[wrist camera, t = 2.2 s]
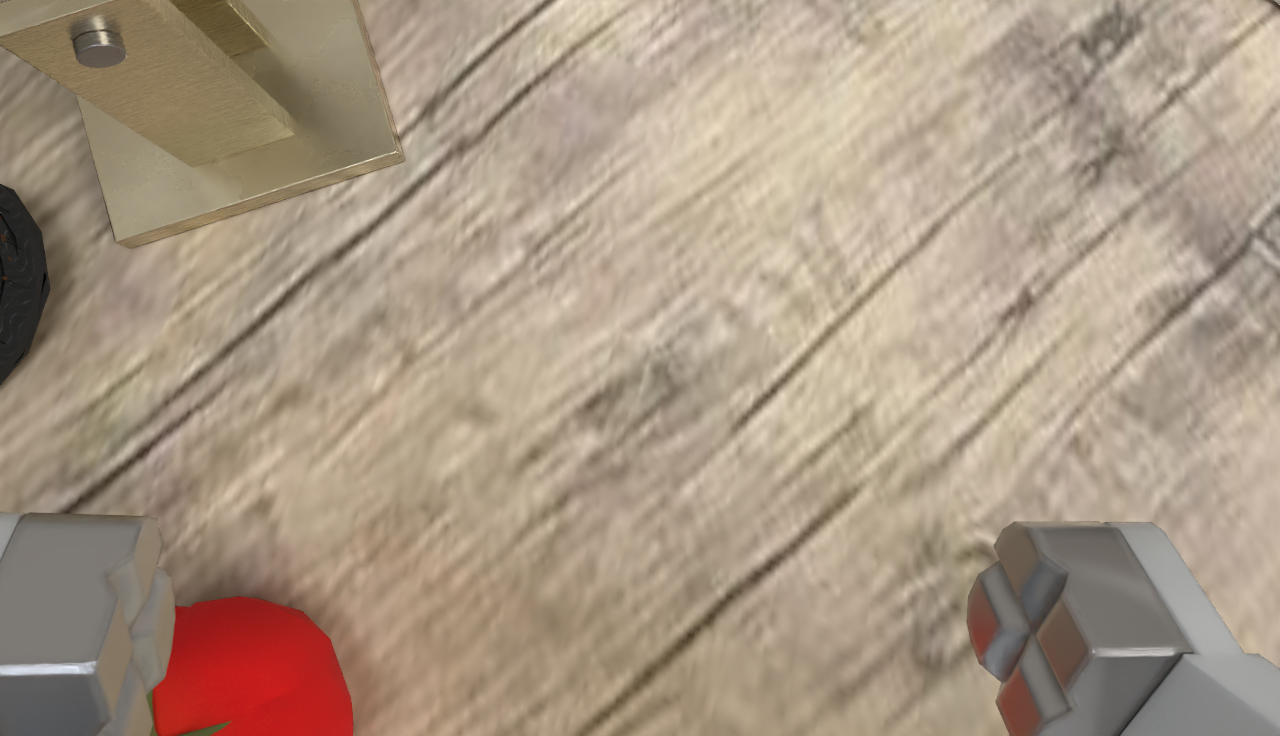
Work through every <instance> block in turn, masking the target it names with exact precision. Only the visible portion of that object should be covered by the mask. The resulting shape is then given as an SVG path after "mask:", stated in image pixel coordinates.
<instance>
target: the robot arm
mask: <svg viewBox="0 0 1280 736" xmlns="http://www.w3.org/2000/svg"><path fill="white" fill-rule="evenodd" d="M1274 1H1275V2H1276V3H1277V4H1279V5H1280V0H1274ZM162 547H163V539H162V535H161V532H160V528H159V524H158V521H157V518H154V517H150V516H123V515H91V514H59V513H2V512H0V736H150V733H151V729H152V725H153V721H152V717H151V713H150V709H149V705H148V701H147V697H146V695H147V694H148V693H149V692H150V691H151V690H152V689H153V688H155V687H156V686H157V685H158V684H159V683H160V682H161V681H162V680H163V679H164V678H165V675H166V671H167V667H168V663H169V659H170V655H171V650H172V643H173V634H174V624H175V599H174V590H173V585H172V580H171V576H170V575H169V574H168V573H166V572H165V571H164V570H162V569H161V568H160V567H158V566H157V564H158V561H159V557H160V554H161V550H162ZM994 549H995V551H996V553H997V555H998V557H999V561H998V562H996V563H995V564H993V565H992V566H990V567H989V568H987V569H986V570H984V571H983V572H981V573H980V574H978V576H977V578H976V580H975V582H974V585H973V587H972V589H971V591H970V593H969V595H968V606H967V626H968V631H969V636H970V641H971V644H972V647H973V649H974V652H975V654H976V657H977V659H978V662H979V664H980V665H982V666H983V667H984V668H985V669H986V670H987V671H989V672H990V673H991V674H992V675H993V676H995V677H996V678H997V679H998V680H999V681H1000V682H1001V685H1000V688H999V692H998V695H997V698H996V704H997V707H998V709H999V711H1000V714H1001V716H1002V718H1003V721H1004V723H1005V725H1006V728H1007V730H1008V732H1009V735H1010V736H1280V669H1279V668H1278V667H1276V666H1275V665H1274V664H1272V663H1271V662H1269V661H1268V660H1267V659H1265V658H1264V657H1262V656H1261V655H1260V654H1253V653H1244V652H1243V650H1242V649H1241V647H1240V646H1239V644H1238V642H1237V641H1236V639H1235V638H1234V636H1233V635H1232V633H1231V632H1230V630H1229V629H1228V627H1227V626H1226V624H1225V623H1224V621H1223V620H1222V618H1221V617H1220V615H1219V614H1218V612H1217V610H1216V609H1215V607H1214V606H1213V604H1212V603H1211V601H1210V600H1209V598H1208V597H1207V595H1206V594H1205V592H1204V591H1203V589H1202V588H1201V586H1200V585H1199V583H1198V581H1197V580H1196V578H1195V577H1194V575H1193V574H1192V572H1191V571H1190V569H1189V568H1188V566H1187V565H1186V563H1185V562H1184V560H1183V559H1182V557H1181V556H1180V554H1179V552H1178V551H1177V549H1176V548H1175V546H1174V545H1173V543H1172V542H1171V540H1170V539H1169V537H1168V536H1167V534H1166V533H1165V532H1164V531H1163V530H1162V529H1161V528H1159V527H1158V526H1156V525H1155V524H1154V523H1152V522H1104V523H1101V522H1098V521H1064V522H1013V523H1012V524H1010V525H1009V526H1007V527H1006V528H1004V529H1003V530H1002V532H1001V533H1000V535H999V537H998V539H997V541H996V542H995V544H994Z"/></svg>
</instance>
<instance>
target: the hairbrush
mask: <svg viewBox="0 0 1280 736" xmlns="http://www.w3.org/2000/svg"><path fill="white" fill-rule="evenodd" d="M0 212H1V213H2V214H1V213H0V385H1V384H2V383H3V381H4V380H5V379H6V378H7V377H8V376H9V374H10V373H11V372H12V371H13V370H14V369H15V367H16V366H17V365H18V364H19V363H20V362H21V360H22V359H23V358H24V357H25V356H26V355H27V354H28V352H29V349H30V347H31V344H32V341H33V338H34V335H35V332H36V329H37V326H38V323H39V320H40V317H41V314H42V311H43V309H44V306H45V303H46V300H47V297H48V294H49V291H50V284H49V278H48V271H47V264H46V258H45V251H44V245H43V238H42V232H41V230H40V229H39V227H38V226H37V224H36V223H35V221H34V220H33V218H32V217H31V215H30V214H29V212H28V211H27V209H26V208H25V206H24V204H23V203H22V201H21V200H20V198H19V197H18V195H17V194H16V192H15V191H14V190H13V189H11V188H8V187H6V186H4V185H2V184H0Z"/></svg>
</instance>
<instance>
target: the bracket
mask: <svg viewBox="0 0 1280 736" xmlns="http://www.w3.org/2000/svg"><path fill="white" fill-rule="evenodd" d="M0 46H2V47H4V48H5V49H7V50H8V51H10V52H11V53H13V54H15V55H16V56H18V57H19V58H21V59H22V60H24V61H25V62H27V63H29V64H30V65H32V66H33V67H35V68H36V69H38V70H40V71H41V72H43V73H44V74H46V75H47V76H49V77H50V78H52V79H54V80H55V81H57V82H58V83H60V84H61V85H63V86H65V87H66V88H68V89H69V90H71V91H72V92H74V93H76V97H77V100H78V104H79V108H80V112H81V115H82V119H83V123H84V127H85V130H86V134H87V138H88V142H89V145H90V149H91V153H92V157H93V160H94V164H95V168H96V172H97V175H98V179H99V183H100V187H101V190H102V194H103V198H104V202H105V205H106V209H107V213H108V217H109V220H110V224H111V228H112V232H113V235H114V239H115V242H116V243H118V244H120V245H123V246H125V247H127V248H134V247H137V246H140V245H143V244H146V243H149V242H152V241H156V240H159V239H162V238H165V237H168V236H171V235H174V234H177V233H181V232H184V231H187V230H190V229H193V228H196V227H199V226H202V225H206V224H209V223H212V222H215V221H218V220H221V219H224V218H228V217H231V216H234V215H237V214H240V213H243V212H246V211H249V210H253V209H256V208H259V207H262V206H265V205H268V204H271V203H274V202H278V201H281V200H284V199H287V198H290V197H293V196H296V195H299V194H303V193H306V192H309V191H312V190H315V189H318V188H321V187H324V186H328V185H331V184H334V183H337V182H340V181H343V180H346V179H350V178H353V177H356V176H359V175H362V174H365V173H368V172H371V171H375V170H378V169H381V168H384V167H387V166H390V165H393V164H396V163H400V162H403V161H404V160H405V158H404V154H403V151H402V148H401V144H400V141H399V138H398V134H397V131H396V128H395V124H394V121H393V118H392V114H391V111H390V108H389V104H388V101H387V98H386V95H385V91H384V88H383V85H382V81H381V78H380V75H379V71H378V68H377V65H376V61H375V58H374V55H373V51H372V48H371V45H370V41H369V38H368V35H367V31H366V28H365V25H364V21H363V18H362V15H361V11H360V8H359V5H358V2H357V0H8V1H5V2H2V3H0Z"/></svg>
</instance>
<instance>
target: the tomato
mask: <svg viewBox="0 0 1280 736" xmlns="http://www.w3.org/2000/svg"><path fill="white" fill-rule="evenodd" d="M146 697H147V701H148V705H149V709H150V713H151V717H152V721H153V725H152V729H151V733H150V736H353V713H352V703H351V697H350V694H349V691H348V688H347V685H346V683H345V680H344V677H343V674H342V671H341V668H340V666H339V663H338V660H337V657H336V654H335V651H334V649H333V646H332V643H331V640H330V638H329V637H328V636H327V635H326V634H325V633H324V632H323V631H322V630H321V629H320V628H319V627H318V626H317V625H316V624H315V623H314V622H313V621H312V620H311V619H310V618H309V617H308V616H307V615H306V614H305V613H304V612H303V611H300V610H297V609H293V608H290V607H286V606H283V605H279V604H276V603H272V602H269V601H265V600H262V599H256V598H248V597H240V596H239V597H232V598H225V599H218V600H211V601H204V602H197V603H195V604H193V605H192V606H190V607H179V606H175V624H174V634H173V643H172V650H171V655H170V659H169V663H168V667H167V671H166V675H165V678H164V679H163V680H162V681H161V682H160V683H159V684H158V685H157V686H156V687H155V688H153V689H152V690H151V691H150V692H149V693H148V694H147V695H146Z"/></svg>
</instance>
